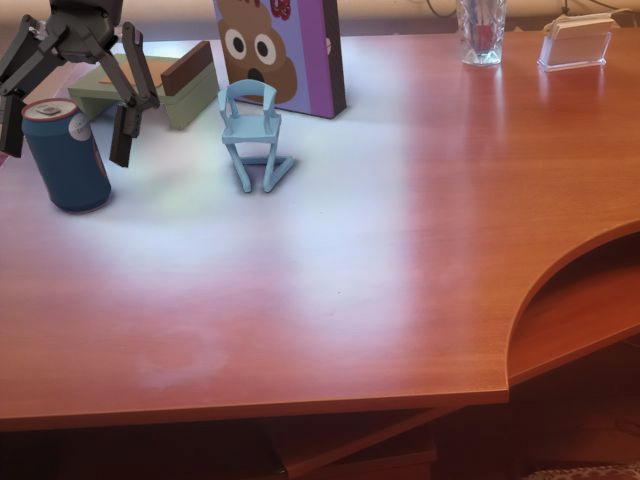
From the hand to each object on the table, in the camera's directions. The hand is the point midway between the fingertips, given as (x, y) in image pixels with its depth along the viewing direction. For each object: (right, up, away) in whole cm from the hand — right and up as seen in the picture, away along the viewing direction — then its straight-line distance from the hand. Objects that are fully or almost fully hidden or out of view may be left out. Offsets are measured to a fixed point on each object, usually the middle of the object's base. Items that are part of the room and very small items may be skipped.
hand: (63, 159), depth 85 cm
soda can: (0, -4, +5) cm, 6 cm away
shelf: (-1, +15, +26) cm, 30 cm away
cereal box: (+20, +16, +28) cm, 38 cm away
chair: (+20, 0, +11) cm, 23 cm away
